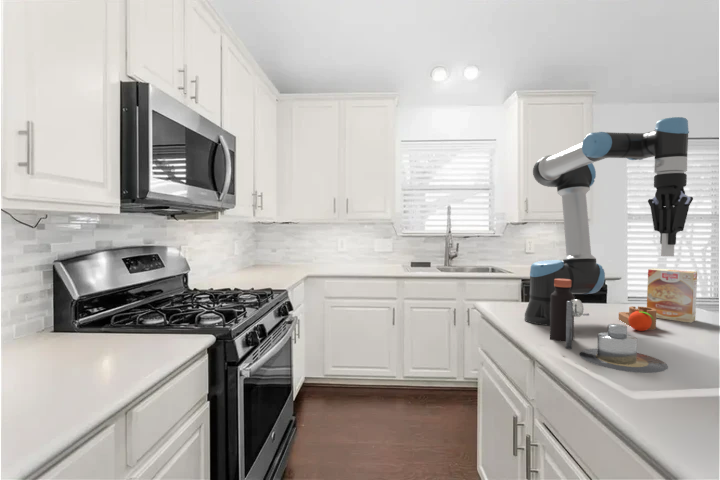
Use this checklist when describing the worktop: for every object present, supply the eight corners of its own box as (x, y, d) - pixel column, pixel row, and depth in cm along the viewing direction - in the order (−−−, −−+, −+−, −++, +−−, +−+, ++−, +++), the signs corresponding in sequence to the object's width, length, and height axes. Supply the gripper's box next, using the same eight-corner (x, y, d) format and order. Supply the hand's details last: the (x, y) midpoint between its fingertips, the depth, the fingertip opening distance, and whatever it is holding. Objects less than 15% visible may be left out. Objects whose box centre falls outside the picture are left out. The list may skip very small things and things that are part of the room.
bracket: (660, 330, 149) (660, 311, 148) (634, 329, 151) (634, 310, 150) (638, 319, 166) (638, 302, 166) (615, 318, 168) (615, 301, 168)
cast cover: (590, 353, 117) (591, 321, 116) (621, 353, 117) (622, 321, 117) (611, 364, 108) (611, 330, 107) (644, 364, 108) (645, 329, 108)
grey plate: (564, 353, 121) (564, 349, 121) (628, 351, 123) (628, 347, 123) (613, 378, 101) (613, 373, 101) (688, 375, 103) (688, 371, 103)
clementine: (659, 332, 145) (659, 312, 145) (647, 334, 142) (648, 314, 142) (635, 327, 153) (635, 308, 152) (623, 329, 149) (624, 309, 149)
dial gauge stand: (557, 349, 124) (558, 298, 124) (582, 349, 125) (583, 297, 125) (567, 355, 120) (568, 301, 119) (593, 354, 120) (594, 300, 120)
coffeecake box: (646, 316, 171) (647, 269, 170) (650, 314, 175) (652, 267, 175) (692, 323, 160) (694, 272, 159) (695, 320, 164) (697, 270, 164)
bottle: (550, 343, 131) (551, 280, 130) (549, 338, 137) (550, 277, 136) (574, 346, 128) (576, 281, 127) (572, 340, 134) (573, 278, 134)
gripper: (640, 176, 125) (638, 254, 126) (678, 170, 112) (675, 257, 113) (663, 176, 126) (660, 254, 127) (703, 170, 113) (700, 257, 114)
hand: (667, 256), depth 120 cm, fingers closed
